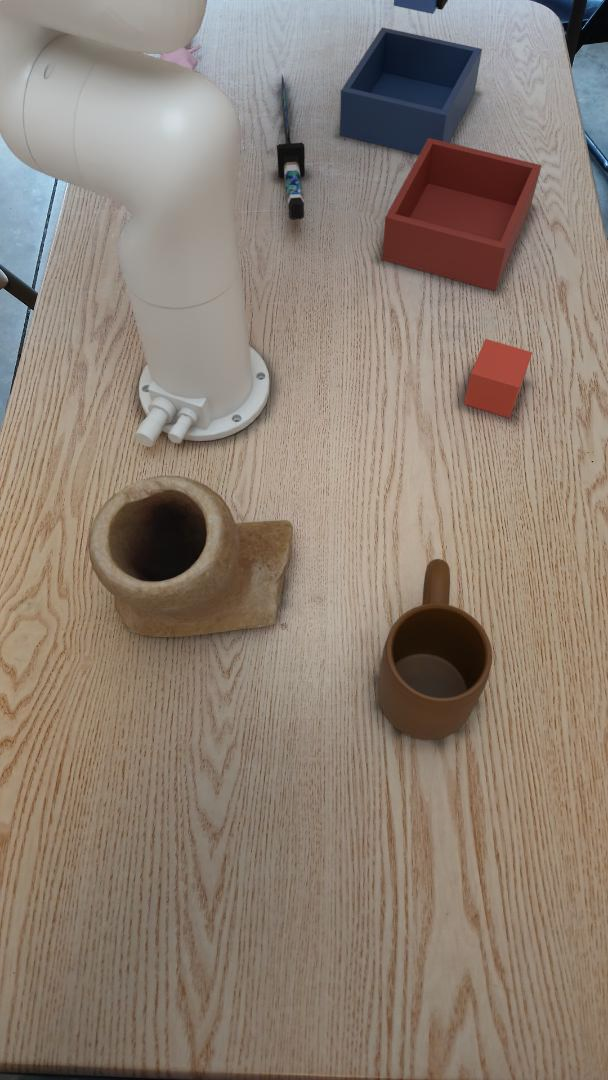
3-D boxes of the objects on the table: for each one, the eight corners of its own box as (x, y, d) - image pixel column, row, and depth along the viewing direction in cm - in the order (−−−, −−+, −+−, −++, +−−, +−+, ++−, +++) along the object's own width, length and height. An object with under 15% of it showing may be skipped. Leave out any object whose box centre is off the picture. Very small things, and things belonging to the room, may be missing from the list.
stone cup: (113, 670, 67) (62, 588, 54) (120, 541, 73) (76, 440, 60) (300, 658, 67) (295, 574, 54) (293, 531, 73) (286, 427, 60)
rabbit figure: (156, 53, 111) (153, 104, 102) (148, 3, 106) (144, 51, 97) (202, 50, 111) (204, 100, 102) (196, -1, 106) (197, 47, 97)
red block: (509, 418, 79) (519, 387, 75) (463, 404, 79) (471, 372, 76) (522, 383, 81) (532, 352, 77) (477, 370, 81) (485, 338, 78)
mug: (381, 597, 70) (389, 542, 61) (472, 604, 69) (492, 550, 61) (373, 738, 64) (381, 698, 56) (473, 747, 63) (496, 708, 55)
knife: (305, 241, 89) (305, 203, 85) (277, 241, 89) (275, 203, 85) (303, 97, 107) (302, 60, 103) (279, 97, 107) (278, 61, 103)
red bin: (495, 291, 87) (505, 248, 82) (381, 259, 89) (385, 216, 84) (530, 209, 93) (541, 164, 88) (422, 181, 95) (428, 137, 90)
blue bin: (440, 159, 97) (446, 115, 92) (339, 135, 100) (340, 90, 95) (474, 93, 103) (482, 48, 98) (379, 72, 106) (382, 26, 101)
